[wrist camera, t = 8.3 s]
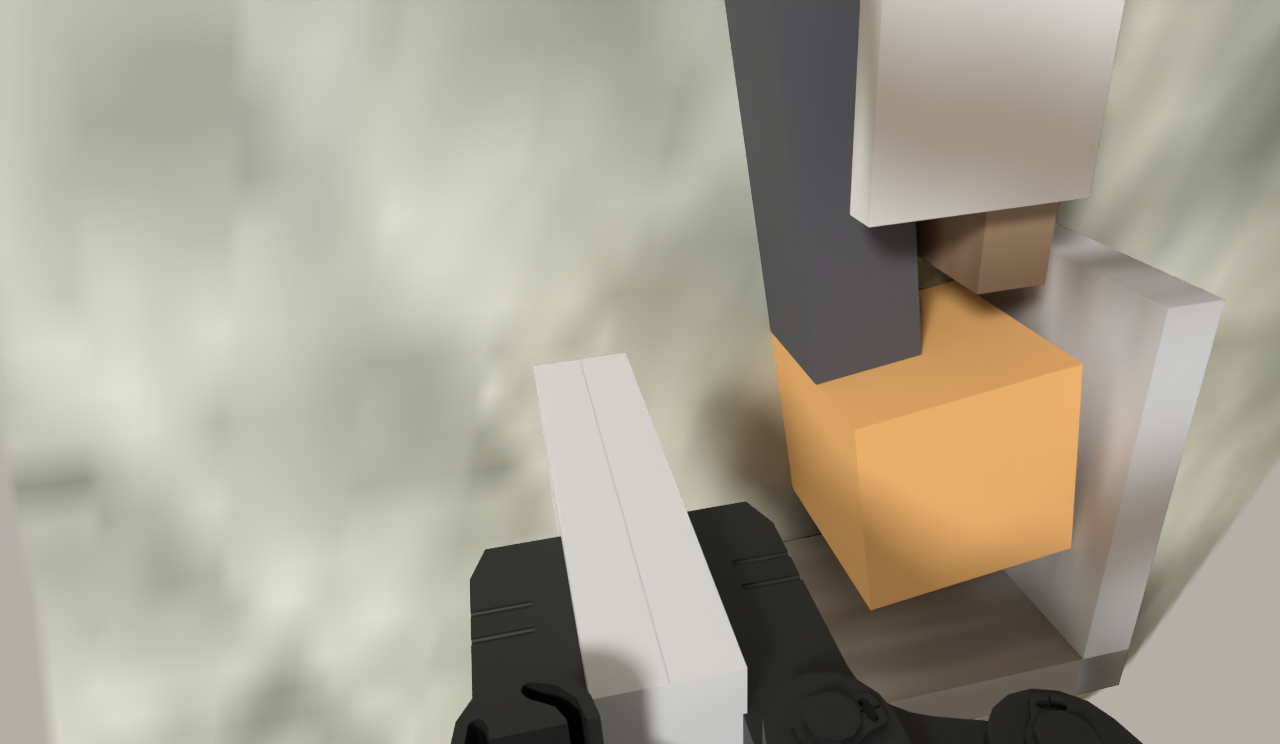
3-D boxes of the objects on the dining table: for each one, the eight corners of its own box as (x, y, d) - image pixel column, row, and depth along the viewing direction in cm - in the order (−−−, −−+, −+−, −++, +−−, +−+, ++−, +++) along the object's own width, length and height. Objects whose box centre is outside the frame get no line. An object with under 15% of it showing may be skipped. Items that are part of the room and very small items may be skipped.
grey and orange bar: (671, -383, 14) (767, -528, 10) (940, -438, 15) (1145, -599, 10) (792, 487, 23) (870, 610, 19) (957, 438, 24) (1071, 548, 20)
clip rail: (764, -376, 15) (940, -558, 9) (1121, -385, 16) (1458, -553, 10) (764, 577, 25) (849, 747, 19) (982, 534, 26) (1118, 684, 20)
